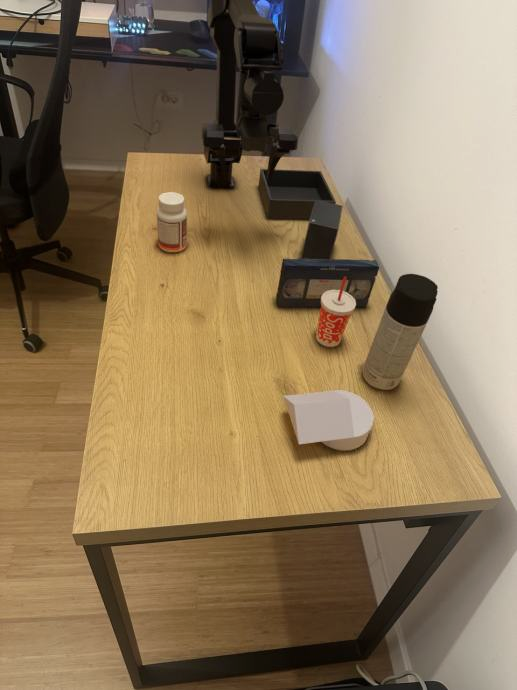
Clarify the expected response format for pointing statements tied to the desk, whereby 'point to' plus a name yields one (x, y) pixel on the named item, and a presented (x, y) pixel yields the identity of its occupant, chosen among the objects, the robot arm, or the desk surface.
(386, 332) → the spray can
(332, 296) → the beverage cup
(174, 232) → the pill bottle
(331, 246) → the small box
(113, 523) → the desk surface
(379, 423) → the desk surface
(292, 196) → the bin
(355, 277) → the vhs cassette tape
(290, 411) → the wedge on round base
